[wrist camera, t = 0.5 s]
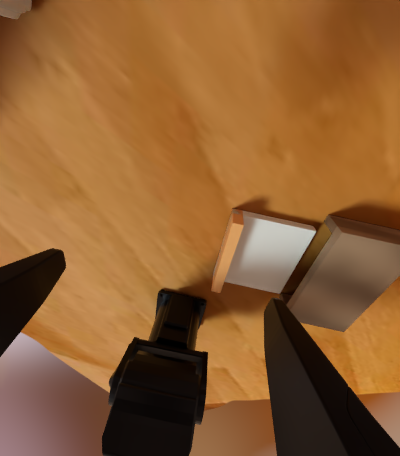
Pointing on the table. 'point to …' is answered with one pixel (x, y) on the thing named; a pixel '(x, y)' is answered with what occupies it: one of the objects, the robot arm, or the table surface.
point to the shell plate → (260, 251)
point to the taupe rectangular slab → (346, 274)
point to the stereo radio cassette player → (14, 8)
